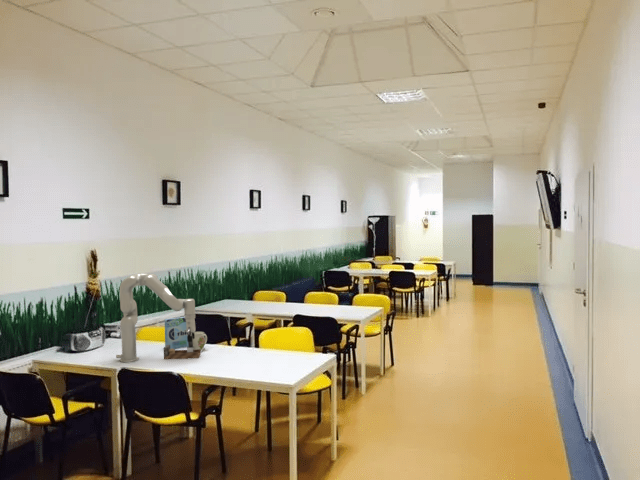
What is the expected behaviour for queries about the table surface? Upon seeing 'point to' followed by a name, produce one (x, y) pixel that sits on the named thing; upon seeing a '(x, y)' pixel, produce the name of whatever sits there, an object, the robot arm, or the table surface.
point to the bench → (180, 353)
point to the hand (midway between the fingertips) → (191, 340)
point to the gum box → (176, 333)
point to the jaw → (190, 346)
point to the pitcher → (199, 340)
